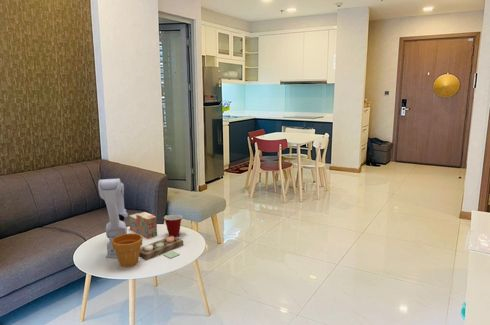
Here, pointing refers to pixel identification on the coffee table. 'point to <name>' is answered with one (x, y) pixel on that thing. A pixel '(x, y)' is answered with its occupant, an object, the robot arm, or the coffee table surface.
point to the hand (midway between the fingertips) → (120, 226)
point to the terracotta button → (170, 239)
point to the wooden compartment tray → (160, 248)
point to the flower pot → (127, 248)
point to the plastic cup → (173, 224)
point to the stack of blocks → (143, 224)
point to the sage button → (159, 244)
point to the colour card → (171, 254)
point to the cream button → (148, 248)
